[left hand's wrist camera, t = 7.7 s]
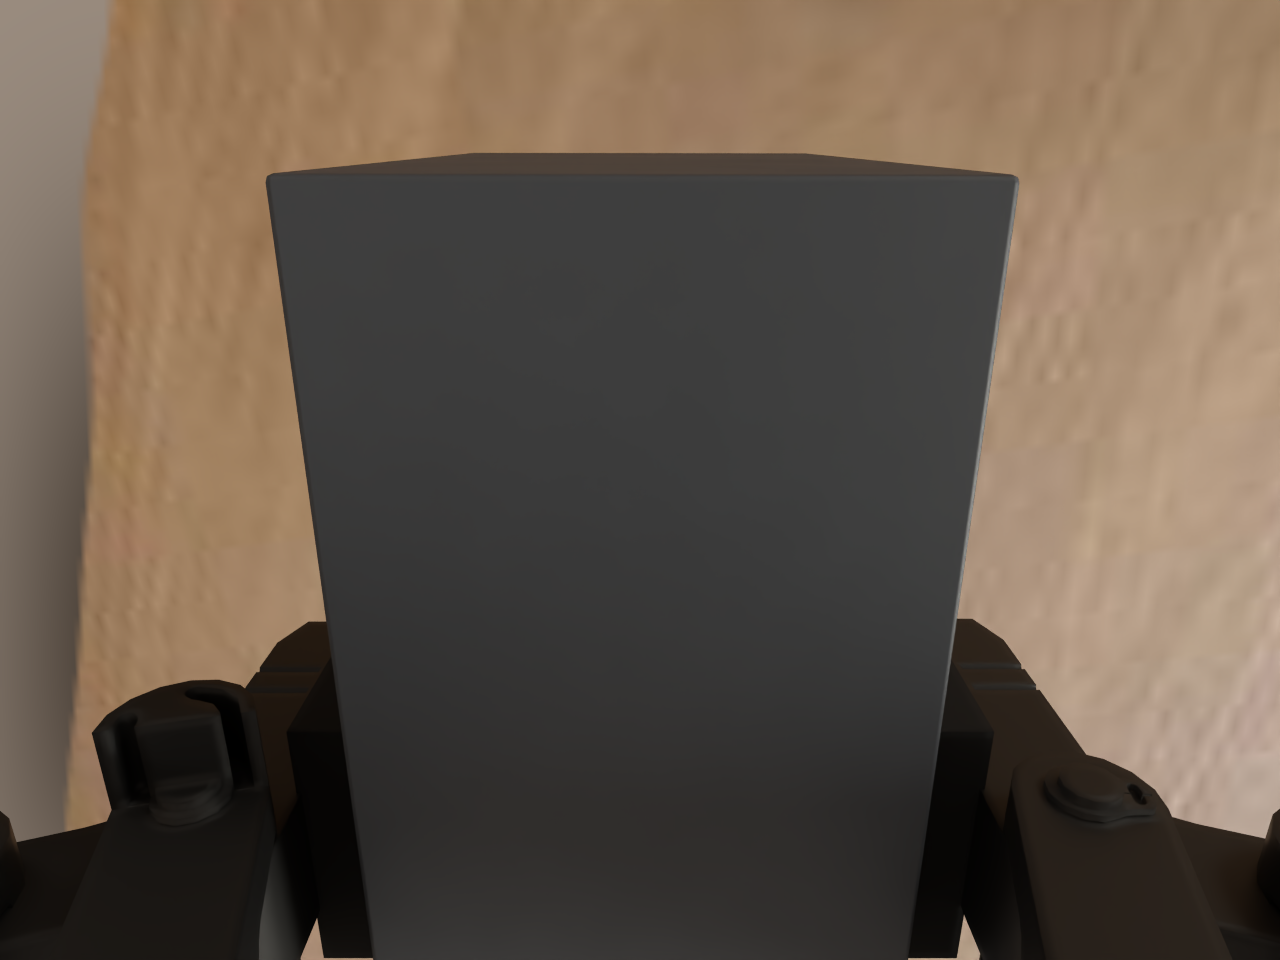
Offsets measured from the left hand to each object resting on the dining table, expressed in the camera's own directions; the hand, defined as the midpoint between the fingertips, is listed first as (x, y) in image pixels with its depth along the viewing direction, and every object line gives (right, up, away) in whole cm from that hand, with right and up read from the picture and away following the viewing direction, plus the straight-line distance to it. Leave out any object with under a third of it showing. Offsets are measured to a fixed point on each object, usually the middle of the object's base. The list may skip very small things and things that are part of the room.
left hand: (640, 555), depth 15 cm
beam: (0, -23, +9) cm, 25 cm away
